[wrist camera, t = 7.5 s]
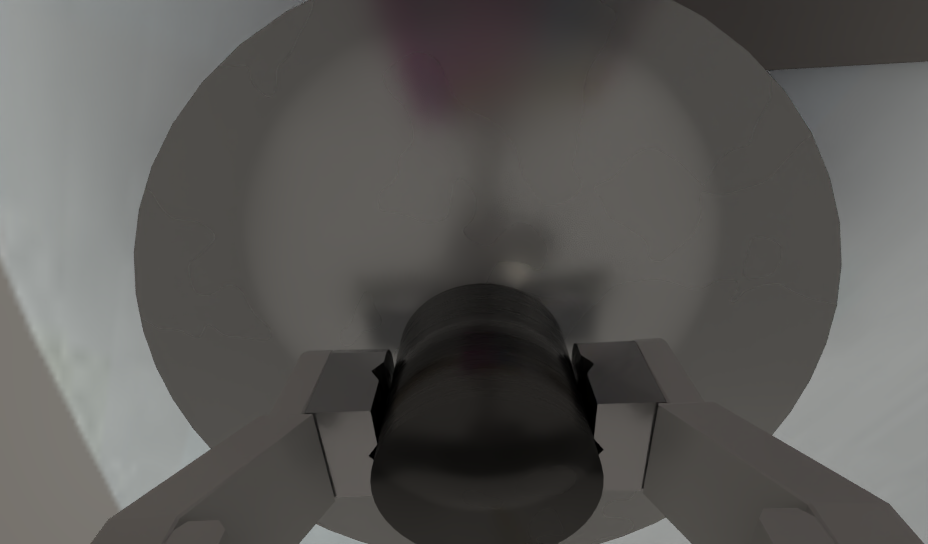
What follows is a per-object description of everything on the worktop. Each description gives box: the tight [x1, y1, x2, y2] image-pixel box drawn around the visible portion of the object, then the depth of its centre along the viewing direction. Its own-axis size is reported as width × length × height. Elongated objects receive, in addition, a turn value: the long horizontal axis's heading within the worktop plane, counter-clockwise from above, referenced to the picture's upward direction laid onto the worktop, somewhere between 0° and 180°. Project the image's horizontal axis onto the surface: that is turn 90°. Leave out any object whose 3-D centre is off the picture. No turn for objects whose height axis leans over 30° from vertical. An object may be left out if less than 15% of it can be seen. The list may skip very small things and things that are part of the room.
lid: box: [134, 0, 841, 544], centre depth 8 cm, size 13×13×4 cm
